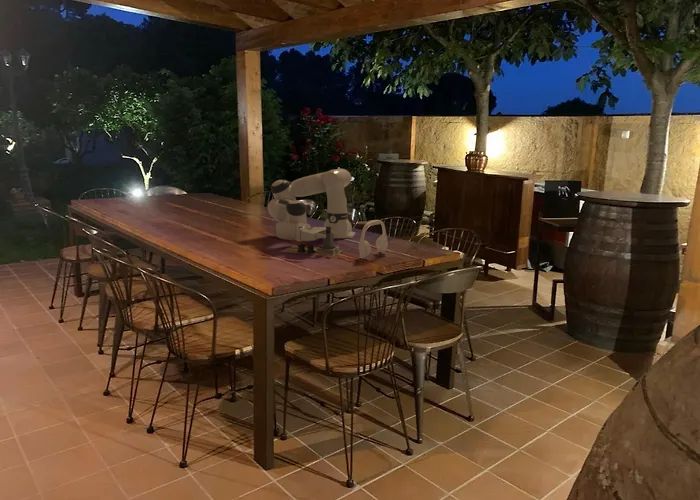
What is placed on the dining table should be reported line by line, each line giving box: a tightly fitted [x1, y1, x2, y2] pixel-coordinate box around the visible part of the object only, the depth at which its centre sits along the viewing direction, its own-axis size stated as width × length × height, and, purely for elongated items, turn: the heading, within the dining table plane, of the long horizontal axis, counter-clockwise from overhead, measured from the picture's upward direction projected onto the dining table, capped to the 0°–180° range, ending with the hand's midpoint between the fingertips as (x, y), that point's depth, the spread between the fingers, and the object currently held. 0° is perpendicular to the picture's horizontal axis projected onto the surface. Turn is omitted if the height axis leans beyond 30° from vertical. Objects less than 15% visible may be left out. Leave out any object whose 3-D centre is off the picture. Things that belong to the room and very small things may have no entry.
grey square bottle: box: [322, 226, 335, 249], centre depth 274 cm, size 4×4×13 cm
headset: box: [358, 219, 389, 259], centre depth 273 cm, size 20×7×18 cm, turn 143°
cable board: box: [281, 244, 344, 259], centre depth 279 cm, size 16×27×5 cm, turn 69°
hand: (329, 234), depth 274 cm, fingers open, 8 cm apart
